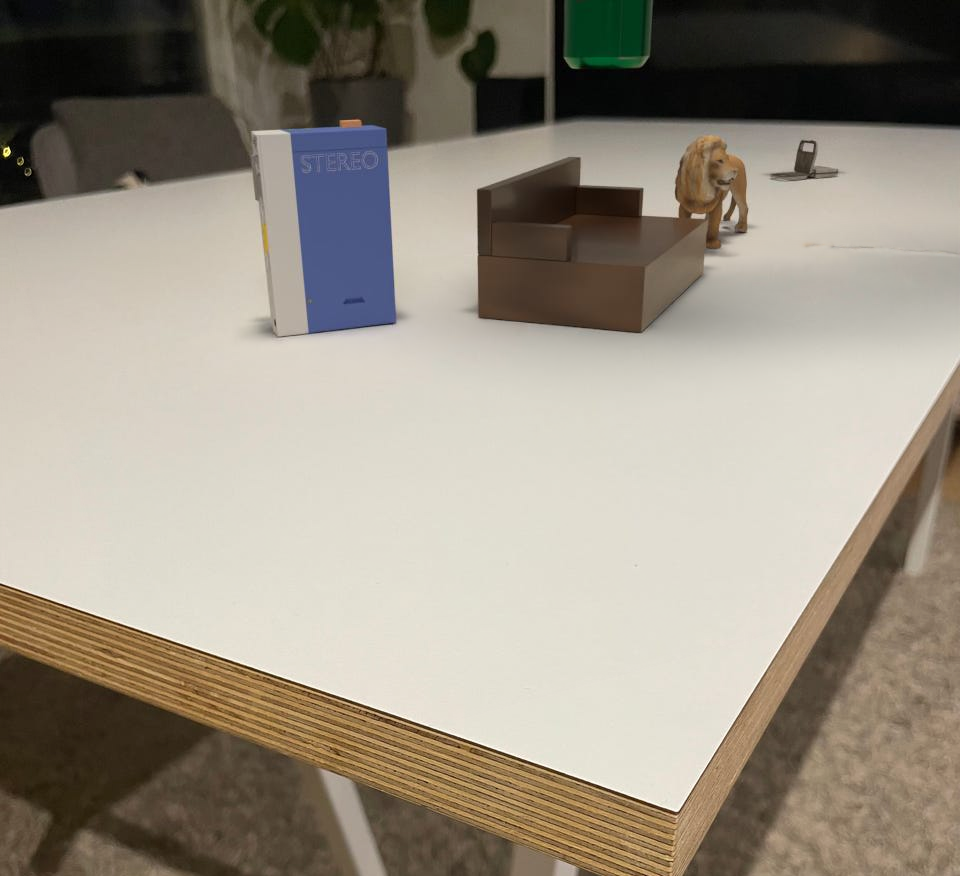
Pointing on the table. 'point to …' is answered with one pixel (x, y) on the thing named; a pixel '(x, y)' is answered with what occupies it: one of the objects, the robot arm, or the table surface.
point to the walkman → (325, 226)
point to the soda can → (607, 33)
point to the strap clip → (806, 165)
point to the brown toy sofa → (580, 252)
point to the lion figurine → (711, 185)
